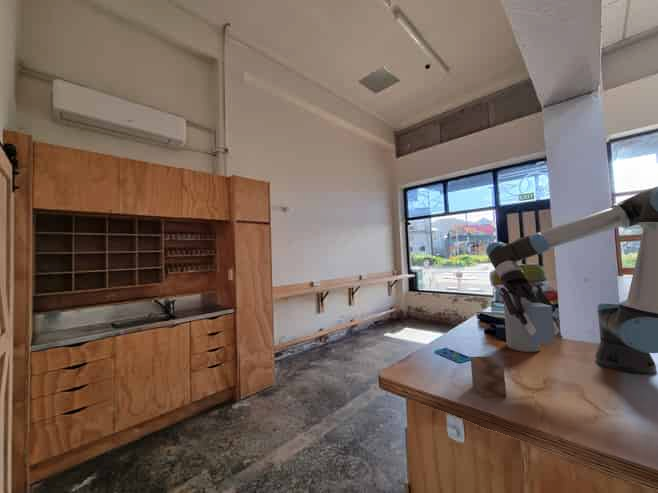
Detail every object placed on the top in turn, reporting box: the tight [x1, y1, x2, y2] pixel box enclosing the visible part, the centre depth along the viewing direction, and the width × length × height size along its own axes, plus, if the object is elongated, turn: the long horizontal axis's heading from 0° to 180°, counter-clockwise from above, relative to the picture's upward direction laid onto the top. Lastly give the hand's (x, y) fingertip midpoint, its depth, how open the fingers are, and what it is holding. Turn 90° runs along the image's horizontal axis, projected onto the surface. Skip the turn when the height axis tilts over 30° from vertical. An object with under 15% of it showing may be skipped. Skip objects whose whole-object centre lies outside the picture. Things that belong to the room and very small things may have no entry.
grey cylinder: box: [502, 291, 542, 353], centre depth 123 cm, size 12×12×25 cm
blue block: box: [521, 303, 556, 346], centre depth 88 cm, size 6×6×12 cm
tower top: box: [470, 356, 506, 383], centre depth 87 cm, size 7×7×5 cm
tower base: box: [471, 372, 507, 399], centre depth 87 cm, size 7×7×5 cm
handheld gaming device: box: [434, 347, 472, 364], centre depth 118 cm, size 8×1×15 cm
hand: (544, 332), depth 84 cm, fingers closed on blue block, 6 cm apart
